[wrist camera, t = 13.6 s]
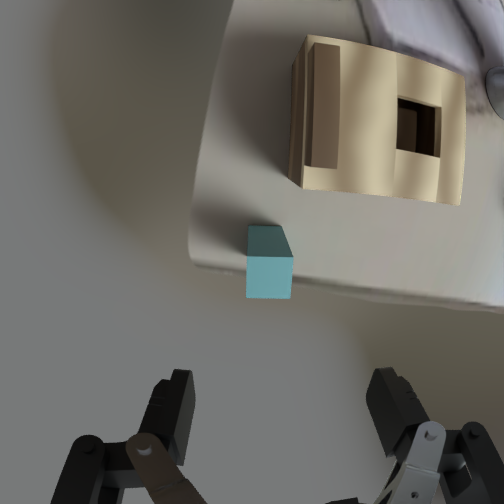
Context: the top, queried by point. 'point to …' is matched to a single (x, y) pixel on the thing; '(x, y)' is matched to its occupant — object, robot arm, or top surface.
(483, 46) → the top surface
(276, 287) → the teal block
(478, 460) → the robot arm
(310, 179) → the lid
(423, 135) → the wooden box
